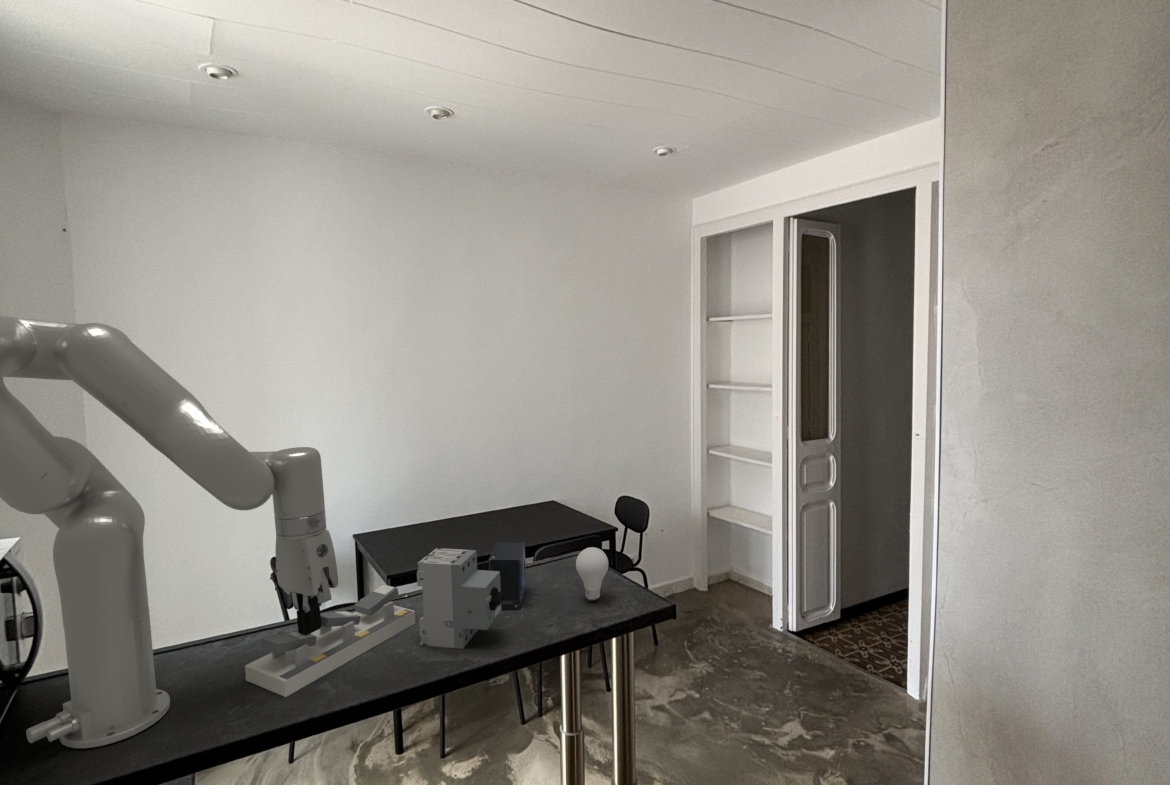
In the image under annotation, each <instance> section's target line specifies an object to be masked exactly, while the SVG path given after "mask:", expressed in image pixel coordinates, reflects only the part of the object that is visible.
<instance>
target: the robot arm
mask: <svg viewBox="0 0 1170 785" xmlns="http://www.w3.org/2000/svg"><path fill="white" fill-rule="evenodd" d="M4 378H18V379H19V378H21V379H23V378H24V379H35V380H36V379H38V380H55V381H56V380H57V381H73V382H74V383H75V384H76V385H77V386H79V388H81V389H83V390H84V391H85V392H86V393H88V394H89V395H90V396H91V397H92V398H94V399H95V400H97V401H98V402H99V403H100V404H102V405H103V406H104V407H105V408H107V409H108V410H109V411H110V412H112V413H113V414H114V415H116V417H118V418H119V419H120V420H121V421H122V422H124V423H125V424H126V425H128V426H129V427H130V428H131V429H132V430H133V431H134V432H136V433H137V434H139V435H140V436H141V437H142V438H143V439H144V440H145V441H146V442H147V443H148V444H149V445H150V446H152V447H153V448H154V449H155V450H156V451H158V452H159V453H161V454H163V456H165V457H166V458H167V459H168V460H169V461H171V462H172V463H173V464H174V465H175V466H176V467H177V468H179V469H180V470H181V471H182V472H183V473H185V474H186V476H188V477H189V478H190V479H191V480H193V481H194V482H195V483H197V484H198V485H199V486H200V487H202V488H203V490H205V491H206V492H208V493H209V494H210V495H211V496H213V497H214V498H215V499H217V501H219V502H220V503H222V504H223V505H225V506H226V507H228V508H231V509H233V510H235V511H237V510H238V511H251V510H254V509H257V508H259V507H261V506H263V505H264V504H265V503H267V501H268V500H269V499H270V498H271V497H272V502H273V513H274V526H275V527H274V528H275V572H276V573H275V574H276V579H277V584H278V586H279V587H280V588H281V589H283V592H284V593H285V594H288V595H289V596H290V597H291V599H292V603H293V604H292V606H293V608H294V610H295V611H296V620H297V632H298V633H300V634H303V635H308V634H311V633H313V632H315V631H317V630H319V629H320V628H321V615H320V613H321V607H322V604H325V603H326V602H327V603H328V602H329V601H331V600H332V593H331V589H335V588H337V587H338V585H339V574H338V566H337V565H338V564H337V559H336V553H335V548H334V545H333V544H334V543H333V540H332V537H331V533H330V530H328V529H327V518H326V508H325V507H326V504H325V493H324V492H325V491H324V482H323V481H324V480H323V468H322V457H321V453H320V451H318V450H319V449H316V448H314V447H310V446H299V447H289V448H284V449H280V450H276V451H275V450H274V451H249V450H248V449H246V448H245V447H244V446H243V445H242V444H241V443H240V442H238V441H237V440H236V439H235V438H234V437H233V436H232V435H231V434H229V433H228V432H227V431H226V430H225V429H224V428H223V427H222V426H221V425H220V424H219V423H218V422H217V421H216V420H215V419H214V418H213V417H212V415H210V414H209V412H208V411H207V410H206V409H205V407H204V406H203V404H202V403H201V402H200V401H199V400H198V399H197V398H196V397H195V395H193V394H192V392H190V391H189V390H187V388H185V387H184V386H183V385H182V384H181V383H180V382H179V381H177V380H176V379H175V378H174V377H173V376H171V375H170V374H169V373H168V372H167V371H165V369H164V368H162V367H161V366H160V365H159V364H157V362H155V361H154V360H153V359H152V358H151V357H149V356H148V355H147V354H146V353H145V352H144V351H143V350H141V348H139V347H138V346H137V345H136V344H134V342H132V340H131V339H130V338H129V337H128V335H126V334H125V333H124V332H122V331H121V329H120V330H119V329H118V328H116V327H113V326H112V325H108V324H104V323H99V322H98V323H97V322H90V323H84V324H83V323H71V322H62V321H61V322H60V321H48V320H39V319H30V318H29V319H28V318H20V317H14V316H13V317H12V316H4V315H0V498H1V500H2V501H3V502H5V504H6V505H8V506H9V507H11V508H12V509H15V510H16V511H18V512H21V513H24V514H27V515H28V514H29V515H45V517H46V518H47V519H48V520H49V521H51V523H53V524H54V525H55V526H56V527H57V529H58V530H57V532H56V536H55V538H54V542H53V548H52V561H53V567H54V572H55V577H56V578H55V579H56V582H57V587H58V592H59V594H58V595H59V599H60V600H59V601H60V608H61V616H62V626H63V631H64V642H65V651H66V652H65V653H66V662H67V670H68V682H69V692H70V700H68V701H66V702H64V703H62V709H63V711H61V712H57V713H56V714H55V717H53V718H50V719H49V720H46V721H42V722H40V723H38V724H35V725H33V726H30V727H29V728H27V729H26V731H25V733H26V739H27V741H28V742H29V743H30V744H33V743H35V742H37V741H39V740H41V739H43V738H47V740H48V741H49V742H53V741H55V740H58V739H59V741H60V743H61V744H62V745H63V746H65V747H68V748H72V749H89V748H90V749H92V748H98V747H103V746H106V745H110V744H114V743H117V742H120V741H122V740H126V739H128V738H130V737H133V736H135V735H137V734H139V733H141V732H143V731H145V730H146V729H148V728H150V727H151V726H153V725H154V724H156V723H157V722H158V721H160V720H161V718H163V717H164V716H165V715H166V714H167V712H168V711H169V709H170V707H171V706H170V705H171V698H170V694H169V693H168V692H167V691H165V690H162V689H159V688H157V684H156V676H155V675H156V674H155V673H156V672H155V659H154V651H153V650H154V649H153V636H152V627H151V617H150V616H151V615H150V606H149V595H148V587H147V586H148V585H147V576H146V575H147V574H146V567H145V566H146V564H145V557H144V556H145V554H144V534H145V520H146V518H145V513H144V511H143V508H142V506H141V504H140V503H139V502H138V500H137V499H136V498H135V496H133V495H132V494H131V493H130V492H129V491H128V490H127V489H126V487H125V486H124V485H123V484H122V483H121V482H120V481H119V480H118V479H117V477H115V476H114V475H113V474H112V472H110V470H109V469H108V468H107V467H106V466H105V464H103V463H102V462H101V461H100V460H99V459H98V458H97V457H96V456H95V455H94V453H93V452H92V451H90V450H89V449H88V448H87V447H85V446H84V444H81V443H80V442H78V441H76V440H74V439H73V438H68V437H63V436H55V435H53V434H52V433H51V432H50V431H49V430H48V429H47V428H46V427H45V426H44V425H43V424H42V423H41V422H40V421H39V420H38V419H37V418H36V416H34V414H33V413H32V412H31V411H30V410H29V409H28V408H27V407H26V405H24V404H23V403H22V402H21V401H20V400H19V399H18V398H17V397H15V396H14V395H13V394H12V393H11V392H10V390H9V389H8V388H7V386H6V385H5V382H4Z"/></svg>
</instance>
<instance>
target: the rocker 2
mask: <svg viewBox="0 0 1170 785" xmlns="http://www.w3.org/2000/svg"><path fill="white" fill-rule="evenodd" d="M320 615H321V626H324V627H335V626H343V625H345V624H347V623H349V622H351V621H353V622H354V625H359V622H360V617H361V616H358V615H357V614H354V612H350V611H347V610H346V611H344V610H343V611H334V612H322V613H321V612H320Z"/></svg>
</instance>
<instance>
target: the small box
mask: <svg viewBox="0 0 1170 785" xmlns="http://www.w3.org/2000/svg"><path fill="white" fill-rule="evenodd" d="M525 545H526V544H525V542H500V541H499V542H496V544H495V546H494V548H493V550H492V551H491V554H490V556H489V558H488V571H500V587H501V592H505V597H506V598H505V599H504V601H502V603H501V610H520V609H521V605H522V603H523V599H524V595H525V593H526V586H527V585H526V584H527V582H526V579H527V578H526V575H527V574H526V548H525Z"/></svg>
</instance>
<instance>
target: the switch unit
mask: <svg viewBox="0 0 1170 785" xmlns="http://www.w3.org/2000/svg"><path fill="white" fill-rule="evenodd" d="M363 598H364V597H362V598H360V600H362V599H363ZM360 600H359V601H360ZM353 613H354V614H357V615H358V616H361V617H360V622H359V625H354V622H353V621H351V622H349V623H347V624H345V625H343V626H335V627H324V626H321V628H320V629H318V630H316V631H314V632H312V633H310V634H312V635H314V636H317V638H316V644H315V645H314V646H310V647H308V645H307V644H305V645H303V646H301V647H299V648H297V649H295V650H291V651H287V652H282V653H277V654H276V653H273V652H270V653H268V654H266V655H264V656H262V657H259V658H257V659H256V660H254V661H251V662H248V663H247V664H246V665H244V669H245V670H244V672H245V681H246V682H248V683H251V684H253V685H256V686H258V687H260V688H263V689H266V690H268V691H270V692H272V693H275V694H276V695H279V696H282V697H284V698H287V697H289V696H290V695H292V694H294V693H296V692H297V691H300V689H302V688H304V687H306V686H308V685H309V684H312V683H313V682H315V681H317V680H318V679H320V678H321V677H324V676H326V675H327V674H329V673H330V672H332V671H334V670H336V669H338V668H339V667H342V666H344V665H345V664H347V663H349V662H350V661H352V660H354V659H355V658H357V657H359V656H360V655H362V654H364V653H366V652H367V651H369V650H371V649H373V648H374V647H377V646H378V645H380V644H382V643H384V642H385V641H387V640H389V639H390V638H393V637H394V636H396V635H397V634H399V633H401V632H403V631H405V630H406V629H408V628H410V627H411V626H413V625H415V624H416V611H415V610H414V609H413V610H412V609H410V608H406V607H402V606H398V605H395V603H394V601H392V600H391V601H389V602H388V603H387V604H385V605H383V607H382V608H381V609H379V610H378V611H377V612H375V613H374V614H373V615H372V616H369V615H365V614H362V613H358V612H356V611H354V612H353Z"/></svg>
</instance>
